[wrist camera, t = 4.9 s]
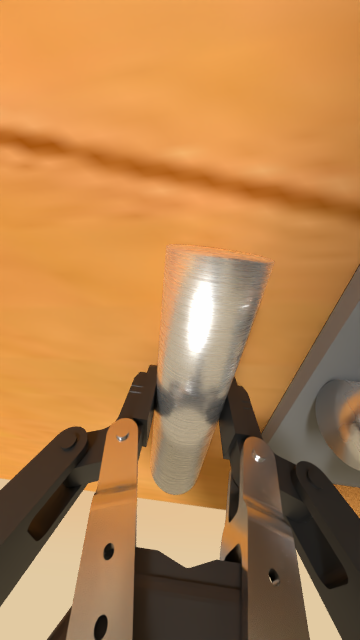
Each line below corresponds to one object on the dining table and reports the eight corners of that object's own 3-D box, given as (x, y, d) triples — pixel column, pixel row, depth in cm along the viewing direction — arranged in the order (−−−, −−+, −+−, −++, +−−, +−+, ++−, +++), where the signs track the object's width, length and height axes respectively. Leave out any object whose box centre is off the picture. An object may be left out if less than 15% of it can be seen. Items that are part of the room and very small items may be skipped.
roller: (203, 444, 15) (194, 505, 12) (161, 428, 16) (141, 481, 13) (265, 255, 8) (288, 270, 4) (182, 243, 9) (147, 247, 5)
